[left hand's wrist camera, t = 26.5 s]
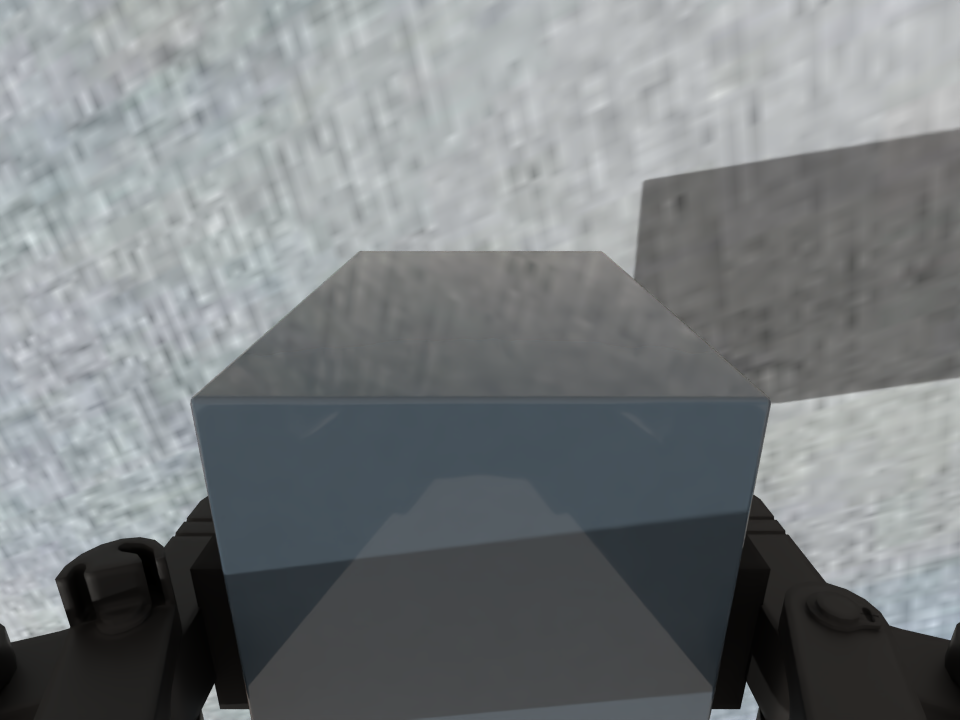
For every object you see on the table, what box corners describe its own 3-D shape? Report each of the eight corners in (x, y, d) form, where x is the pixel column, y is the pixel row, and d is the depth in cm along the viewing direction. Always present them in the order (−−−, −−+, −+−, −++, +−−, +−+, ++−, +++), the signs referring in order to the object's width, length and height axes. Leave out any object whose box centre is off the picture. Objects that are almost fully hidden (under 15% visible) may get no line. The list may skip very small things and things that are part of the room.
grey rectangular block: (378, 526, 19) (281, 887, 10) (357, 250, 16) (186, 398, 6) (582, 526, 19) (678, 887, 10) (603, 250, 16) (774, 399, 6)
